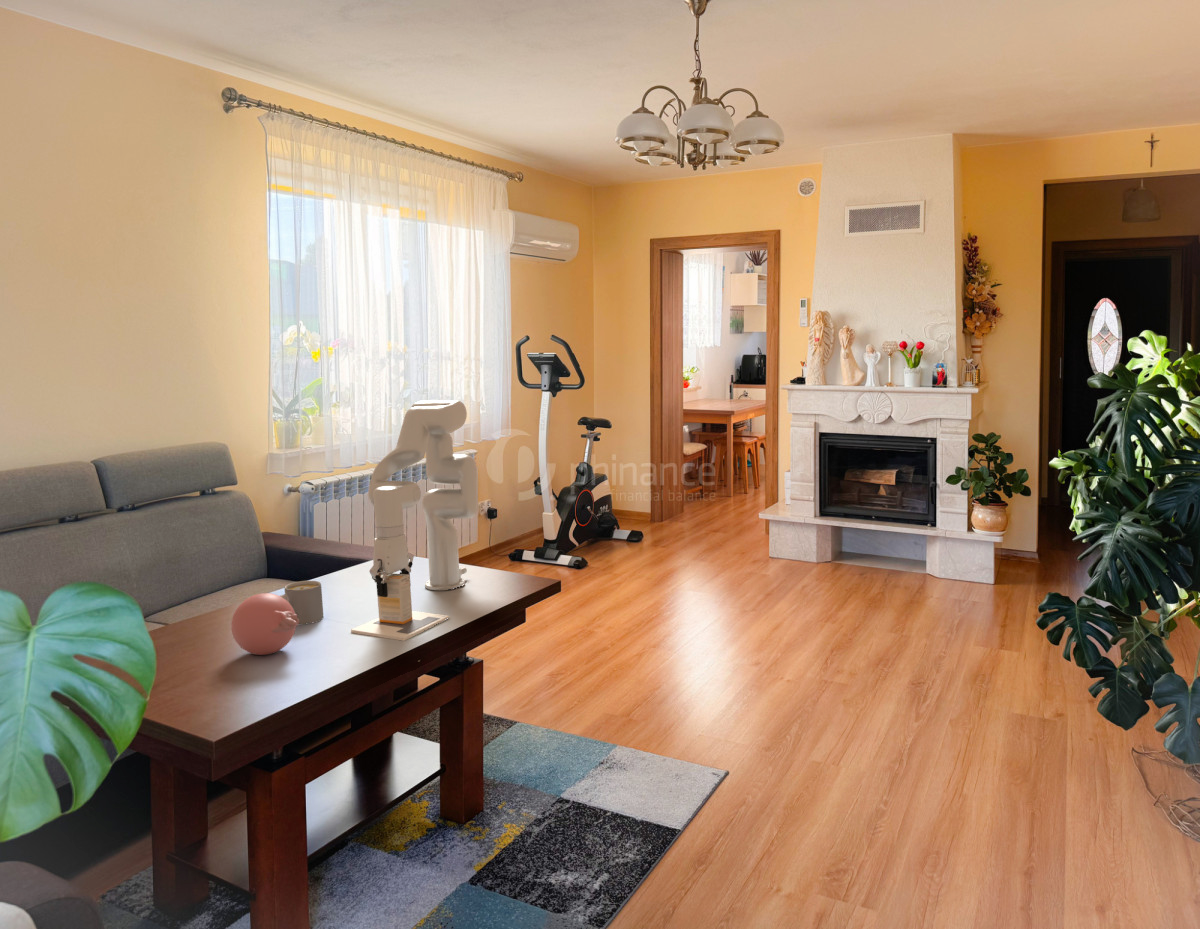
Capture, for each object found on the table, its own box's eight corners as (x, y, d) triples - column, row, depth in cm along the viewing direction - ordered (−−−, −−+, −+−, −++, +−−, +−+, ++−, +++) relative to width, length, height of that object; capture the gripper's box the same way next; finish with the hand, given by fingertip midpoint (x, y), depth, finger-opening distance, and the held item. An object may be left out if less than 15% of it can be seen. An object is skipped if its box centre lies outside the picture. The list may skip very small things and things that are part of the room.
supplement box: (413, 619, 242) (410, 574, 240) (403, 625, 237) (400, 578, 235) (388, 617, 245) (385, 572, 243) (378, 622, 240) (375, 576, 239)
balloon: (269, 671, 207) (264, 609, 205) (221, 656, 219) (216, 597, 217) (322, 652, 220) (318, 593, 218) (274, 639, 231) (269, 583, 229)
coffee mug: (320, 611, 255) (317, 578, 253) (326, 620, 246) (323, 586, 245) (272, 619, 249) (269, 585, 247) (276, 628, 240) (273, 593, 238)
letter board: (398, 611, 253) (398, 608, 253) (449, 618, 245) (449, 615, 245) (351, 632, 235) (350, 629, 235) (404, 640, 227) (403, 637, 227)
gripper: (399, 523, 247) (403, 581, 249) (357, 537, 231) (362, 599, 234) (420, 525, 243) (424, 584, 246) (379, 539, 228) (384, 602, 231)
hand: (394, 591), depth 240 cm, fingers open, 9 cm apart
